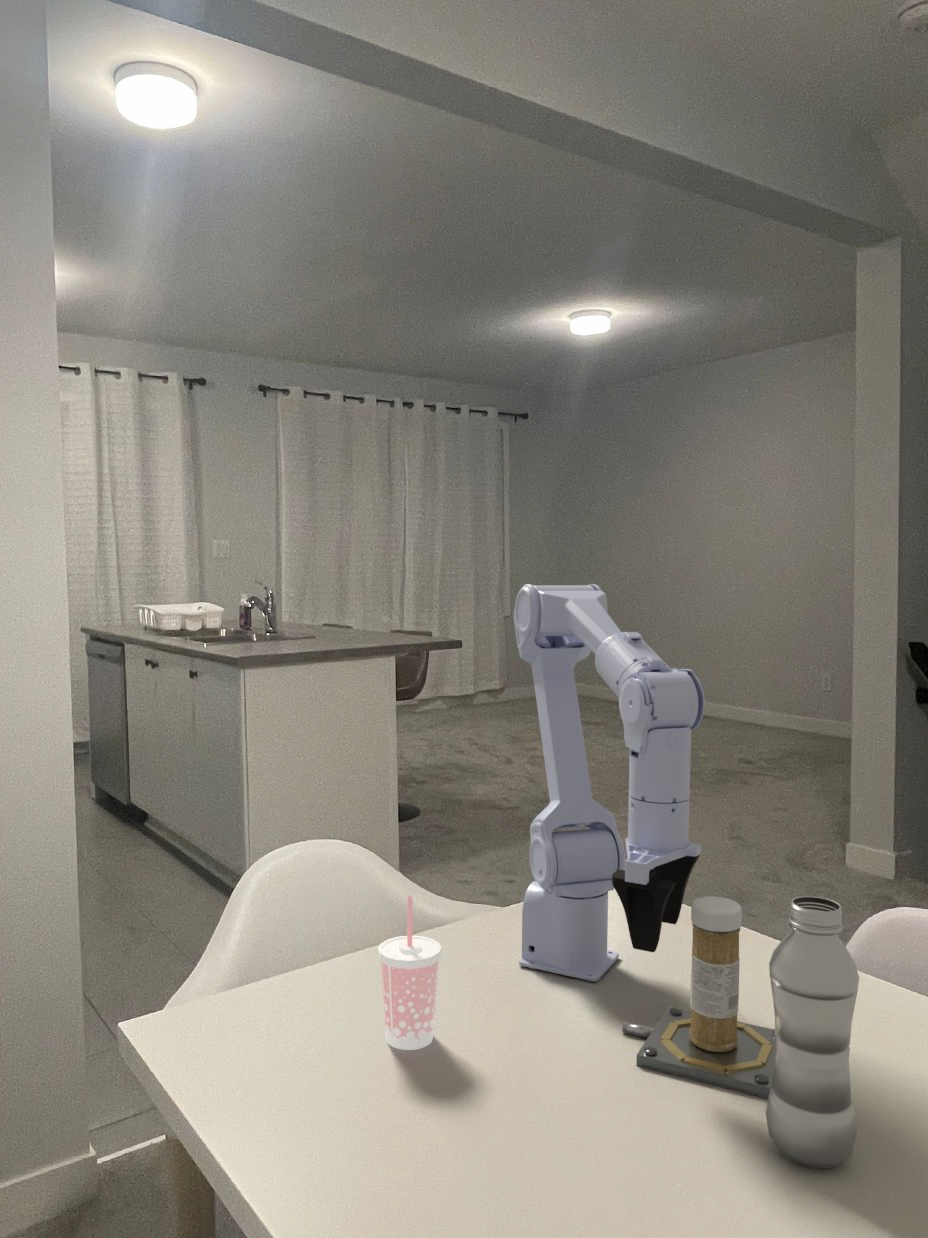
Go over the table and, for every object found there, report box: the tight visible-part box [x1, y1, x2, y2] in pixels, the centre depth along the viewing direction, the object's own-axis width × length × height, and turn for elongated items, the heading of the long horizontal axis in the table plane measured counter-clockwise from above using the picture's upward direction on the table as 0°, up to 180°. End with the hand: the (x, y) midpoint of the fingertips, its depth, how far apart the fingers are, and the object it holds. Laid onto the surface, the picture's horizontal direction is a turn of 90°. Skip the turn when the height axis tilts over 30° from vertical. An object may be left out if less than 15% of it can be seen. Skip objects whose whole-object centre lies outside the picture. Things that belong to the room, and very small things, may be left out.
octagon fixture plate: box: [621, 1005, 776, 1100], centre depth 91 cm, size 15×11×1 cm
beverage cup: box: [377, 895, 442, 1051], centre depth 93 cm, size 6×6×14 cm
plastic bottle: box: [765, 895, 860, 1169], centre depth 75 cm, size 6×7×20 cm
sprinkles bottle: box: [689, 895, 743, 1052], centre depth 90 cm, size 5×5×14 cm
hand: (655, 935), depth 93 cm, fingers open, 7 cm apart
